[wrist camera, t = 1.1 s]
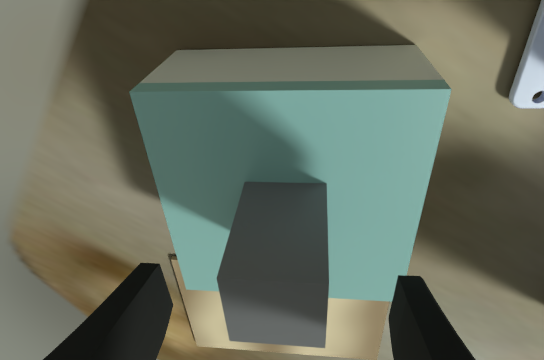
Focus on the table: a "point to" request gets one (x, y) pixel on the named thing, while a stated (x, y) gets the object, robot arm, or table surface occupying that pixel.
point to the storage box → (295, 65)
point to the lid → (291, 192)
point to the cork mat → (339, 343)
